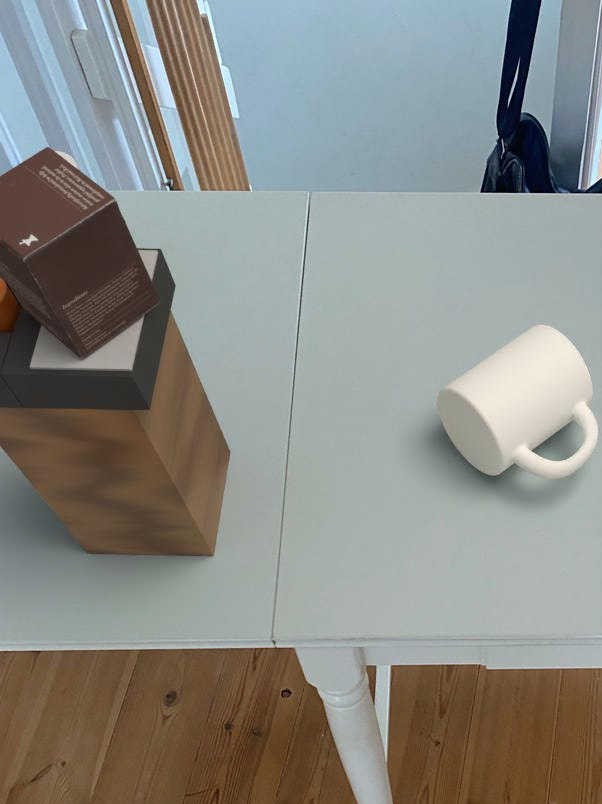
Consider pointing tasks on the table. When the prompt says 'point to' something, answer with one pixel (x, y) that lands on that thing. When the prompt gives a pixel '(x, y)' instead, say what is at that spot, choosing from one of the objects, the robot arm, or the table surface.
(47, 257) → the box
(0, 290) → the button
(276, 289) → the table surface
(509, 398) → the mug
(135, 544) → the block
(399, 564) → the table surface
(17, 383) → the scale
